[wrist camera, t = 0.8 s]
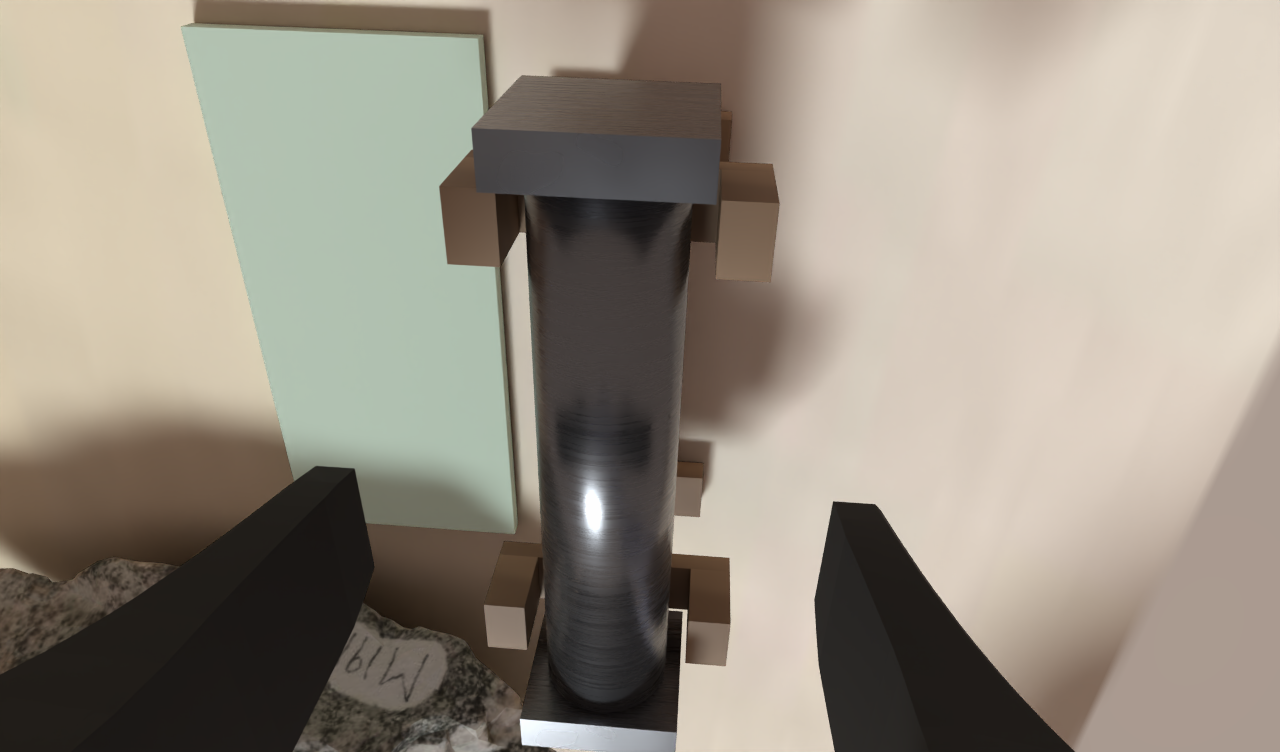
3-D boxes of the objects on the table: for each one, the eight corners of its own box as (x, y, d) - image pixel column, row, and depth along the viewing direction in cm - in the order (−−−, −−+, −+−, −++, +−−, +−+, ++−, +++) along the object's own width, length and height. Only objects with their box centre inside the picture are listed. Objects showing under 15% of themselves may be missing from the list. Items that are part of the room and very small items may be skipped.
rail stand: (724, 502, 21) (725, 665, 16) (534, 489, 21) (487, 646, 17) (763, 113, 16) (779, 203, 11) (513, 102, 16) (438, 186, 12)
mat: (517, 523, 22) (514, 534, 21) (309, 508, 22) (303, 518, 22) (483, 34, 15) (477, 38, 15) (192, 23, 16) (180, 26, 15)
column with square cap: (680, 636, 19) (674, 758, 16) (548, 626, 19) (522, 745, 16) (720, 83, 12) (721, 139, 10) (521, 75, 12) (471, 128, 10)
